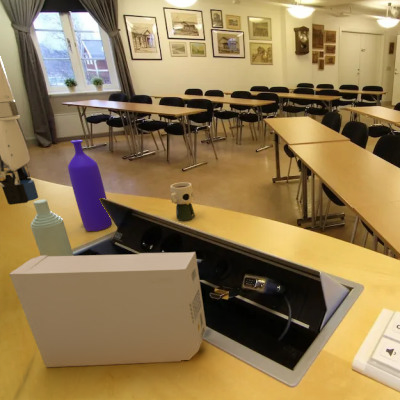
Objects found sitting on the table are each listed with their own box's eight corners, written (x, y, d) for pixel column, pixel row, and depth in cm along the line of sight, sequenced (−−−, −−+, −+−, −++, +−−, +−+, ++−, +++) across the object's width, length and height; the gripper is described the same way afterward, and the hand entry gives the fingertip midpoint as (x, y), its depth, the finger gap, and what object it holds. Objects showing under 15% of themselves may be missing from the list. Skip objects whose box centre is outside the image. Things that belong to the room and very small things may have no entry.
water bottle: (41, 274, 84) (18, 207, 78) (49, 261, 90) (28, 198, 83) (72, 268, 87) (52, 203, 80) (77, 256, 93) (59, 195, 86)
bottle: (78, 230, 108) (52, 142, 97) (99, 220, 116) (78, 137, 105) (98, 233, 106) (74, 143, 96) (118, 223, 114) (98, 139, 103)
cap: (42, 195, 71) (37, 179, 70) (32, 201, 68) (27, 184, 66) (20, 196, 70) (15, 180, 69) (10, 202, 67) (4, 185, 65)
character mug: (184, 225, 113) (178, 190, 108) (167, 222, 115) (161, 188, 110) (203, 213, 123) (199, 181, 118) (187, 211, 125) (183, 179, 120)
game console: (66, 343, 63) (36, 254, 56) (208, 337, 65) (195, 251, 58) (45, 368, 57) (8, 273, 50) (200, 360, 59) (185, 269, 52)
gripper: (-14, 108, 68) (15, 190, 74) (-60, 117, 54) (-19, 217, 60) (31, 107, 71) (55, 186, 77) (-1, 115, 57) (31, 210, 63)
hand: (22, 198), depth 69 cm, fingers closed on cap, 3 cm apart
